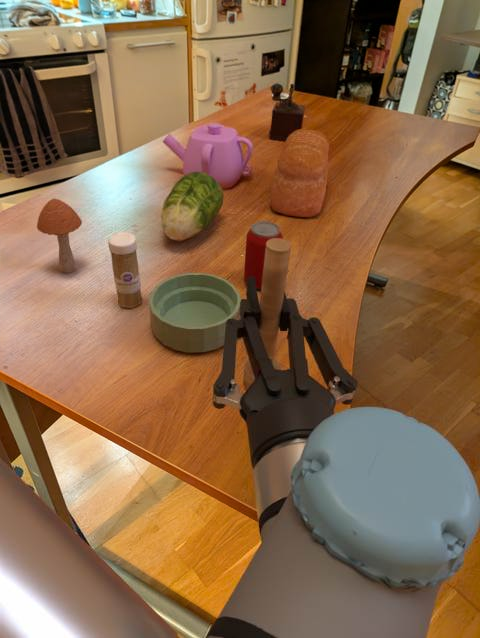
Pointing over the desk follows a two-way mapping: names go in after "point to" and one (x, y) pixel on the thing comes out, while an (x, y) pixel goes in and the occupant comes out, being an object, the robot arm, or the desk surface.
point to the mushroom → (60, 229)
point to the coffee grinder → (285, 114)
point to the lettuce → (191, 206)
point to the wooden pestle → (271, 300)
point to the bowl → (193, 311)
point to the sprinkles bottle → (125, 269)
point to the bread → (301, 174)
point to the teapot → (213, 153)
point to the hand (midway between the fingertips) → (263, 285)
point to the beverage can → (258, 249)
